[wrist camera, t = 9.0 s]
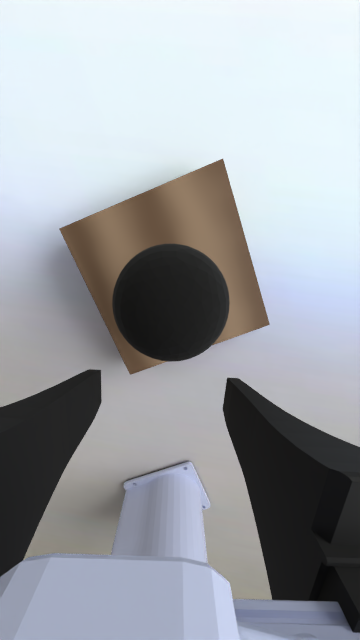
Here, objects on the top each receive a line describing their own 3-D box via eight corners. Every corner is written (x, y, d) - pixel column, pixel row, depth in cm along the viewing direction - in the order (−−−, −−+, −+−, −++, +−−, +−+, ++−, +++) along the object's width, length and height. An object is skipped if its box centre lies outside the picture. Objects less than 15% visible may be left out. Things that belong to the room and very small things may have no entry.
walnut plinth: (136, 361, 22) (130, 374, 19) (77, 236, 19) (59, 228, 16) (256, 317, 21) (269, 324, 18) (215, 177, 18) (222, 158, 15)
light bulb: (150, 330, 18) (118, 399, 8) (132, 266, 16) (66, 254, 7) (213, 316, 17) (258, 367, 8) (199, 249, 16) (232, 211, 6)
